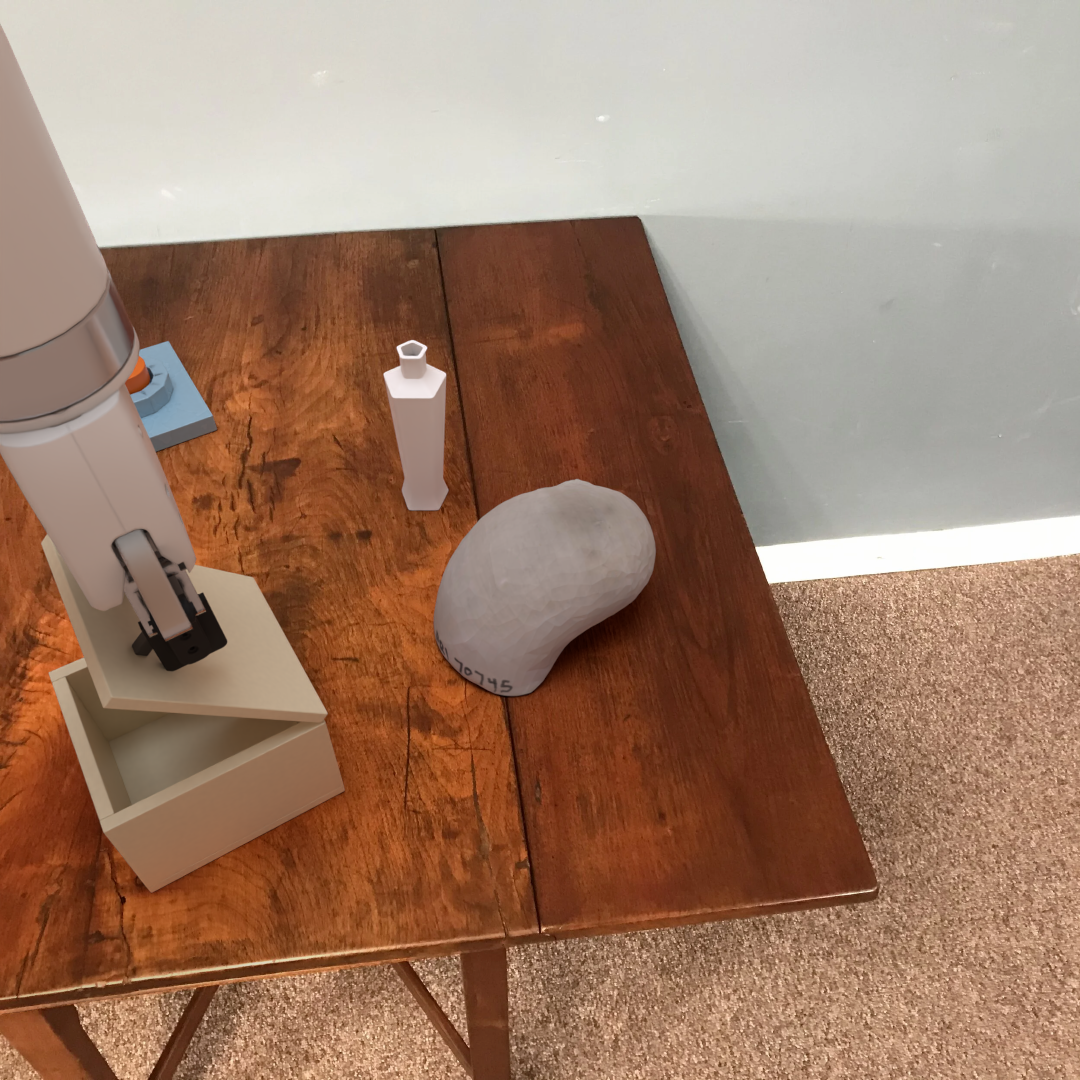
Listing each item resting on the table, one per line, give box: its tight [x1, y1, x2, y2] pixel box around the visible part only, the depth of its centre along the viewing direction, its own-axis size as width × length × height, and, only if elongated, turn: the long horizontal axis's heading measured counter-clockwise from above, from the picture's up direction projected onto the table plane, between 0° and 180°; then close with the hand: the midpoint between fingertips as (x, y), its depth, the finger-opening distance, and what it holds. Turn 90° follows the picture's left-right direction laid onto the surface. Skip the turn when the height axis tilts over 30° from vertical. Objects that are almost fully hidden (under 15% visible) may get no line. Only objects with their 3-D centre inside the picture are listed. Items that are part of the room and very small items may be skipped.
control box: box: [130, 340, 218, 453], centre depth 82 cm, size 10×12×4 cm
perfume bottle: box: [383, 339, 449, 511], centre depth 72 cm, size 5×4×15 cm
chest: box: [48, 657, 346, 894], centre depth 58 cm, size 13×12×9 cm
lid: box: [40, 533, 328, 723], centre depth 51 cm, size 13×12×5 cm
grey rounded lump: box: [433, 478, 657, 697], centre depth 68 cm, size 15×14×15 cm
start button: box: [125, 356, 150, 395], centre depth 80 cm, size 4×4×2 cm
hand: (174, 606), depth 49 cm, fingers closed on lid, 6 cm apart
